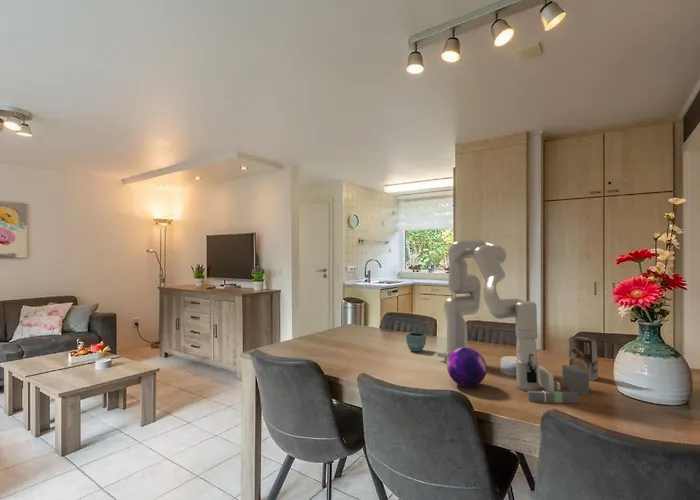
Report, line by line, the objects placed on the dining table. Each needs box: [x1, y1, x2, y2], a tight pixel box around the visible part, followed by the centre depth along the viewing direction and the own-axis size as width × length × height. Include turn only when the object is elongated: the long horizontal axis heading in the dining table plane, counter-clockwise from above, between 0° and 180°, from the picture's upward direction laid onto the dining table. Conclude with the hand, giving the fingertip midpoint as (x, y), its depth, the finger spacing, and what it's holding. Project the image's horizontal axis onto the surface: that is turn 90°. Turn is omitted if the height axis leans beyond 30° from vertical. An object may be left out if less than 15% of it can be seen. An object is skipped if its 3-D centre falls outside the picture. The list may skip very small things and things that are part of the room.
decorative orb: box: [446, 346, 487, 388], centre depth 147 cm, size 15×15×15 cm
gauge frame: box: [526, 364, 590, 404], centre depth 137 cm, size 23×18×8 cm
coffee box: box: [568, 335, 599, 381], centre depth 155 cm, size 9×6×16 cm
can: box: [515, 357, 539, 392], centre depth 143 cm, size 8×8×12 cm
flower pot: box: [405, 331, 427, 352], centre depth 203 cm, size 9×9×9 cm
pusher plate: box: [538, 365, 561, 391], centre depth 139 cm, size 6×16×7 cm, turn 172°
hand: (527, 378), depth 142 cm, fingers open, 9 cm apart
